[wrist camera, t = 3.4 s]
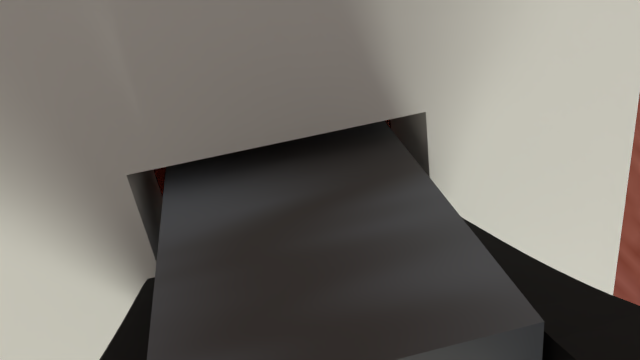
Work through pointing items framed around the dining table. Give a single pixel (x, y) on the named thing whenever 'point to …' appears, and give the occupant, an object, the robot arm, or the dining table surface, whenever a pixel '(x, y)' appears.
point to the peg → (327, 260)
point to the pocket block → (296, 128)
